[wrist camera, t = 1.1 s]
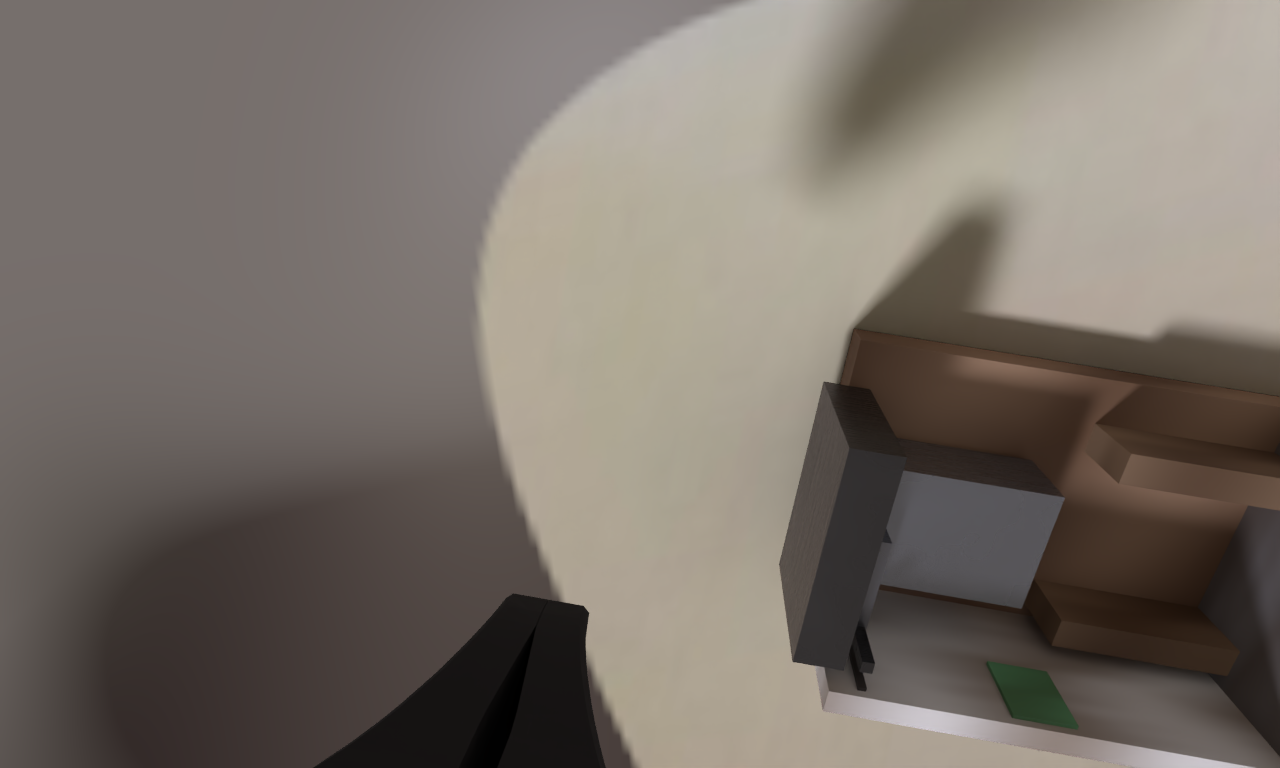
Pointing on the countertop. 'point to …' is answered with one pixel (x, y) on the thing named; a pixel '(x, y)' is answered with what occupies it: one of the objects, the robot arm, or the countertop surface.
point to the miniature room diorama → (1091, 566)
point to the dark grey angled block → (901, 526)
